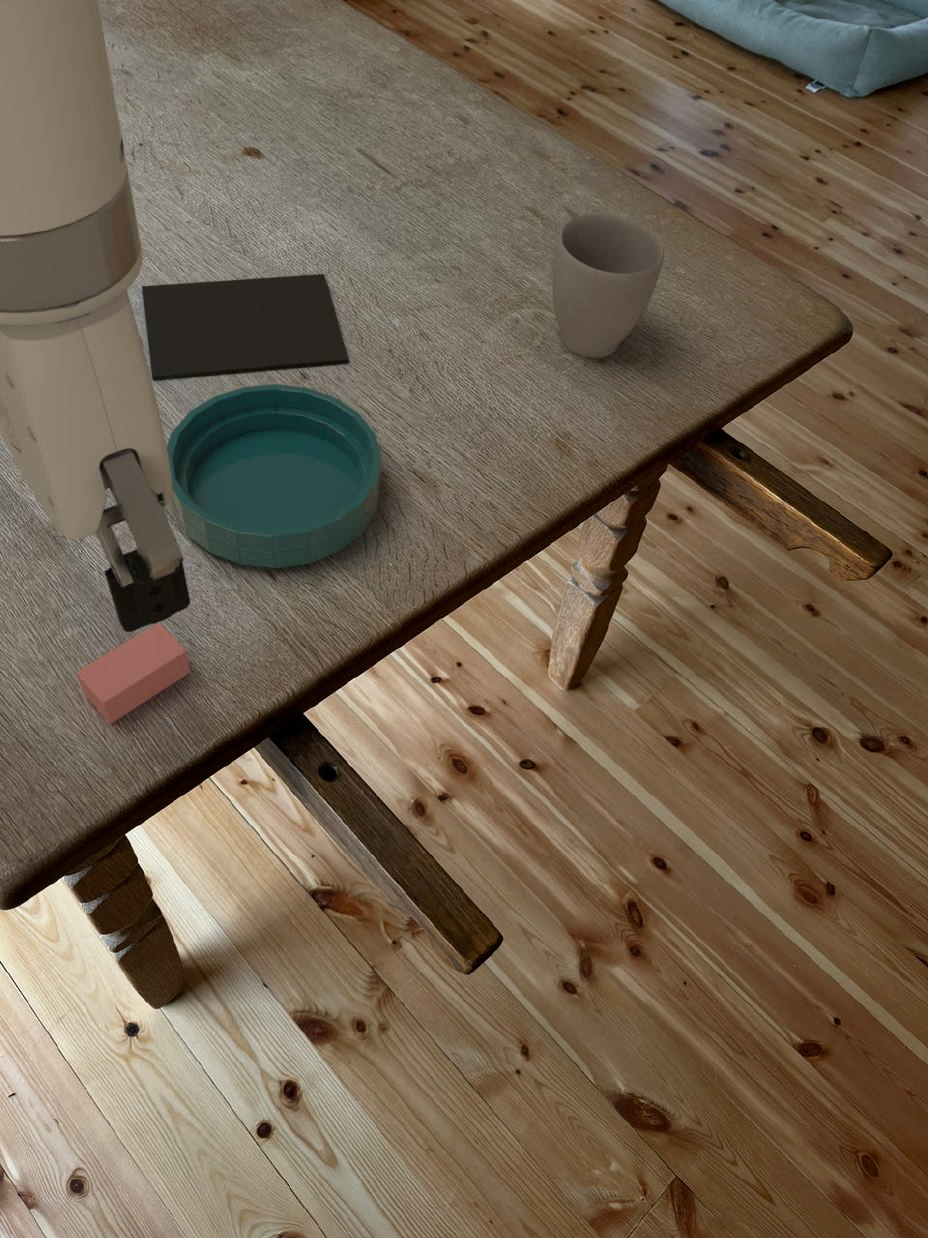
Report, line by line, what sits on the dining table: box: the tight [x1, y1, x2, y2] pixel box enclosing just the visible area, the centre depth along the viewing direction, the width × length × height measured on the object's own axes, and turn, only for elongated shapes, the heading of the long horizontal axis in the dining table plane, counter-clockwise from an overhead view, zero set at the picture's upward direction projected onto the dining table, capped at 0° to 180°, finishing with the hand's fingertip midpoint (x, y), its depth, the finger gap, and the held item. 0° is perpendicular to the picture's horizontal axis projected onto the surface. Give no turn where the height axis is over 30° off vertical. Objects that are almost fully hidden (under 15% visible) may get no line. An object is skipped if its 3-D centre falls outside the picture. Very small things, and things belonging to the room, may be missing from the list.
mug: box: [552, 212, 665, 359], centre depth 87 cm, size 12×9×10 cm
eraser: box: [76, 622, 191, 725], centre depth 64 cm, size 6×3×2 cm, turn 135°
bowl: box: [166, 383, 382, 569], centre depth 74 cm, size 15×15×4 cm
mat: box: [141, 273, 349, 381], centre depth 86 cm, size 16×12×1 cm
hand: (113, 545), depth 48 cm, fingers open, 9 cm apart
